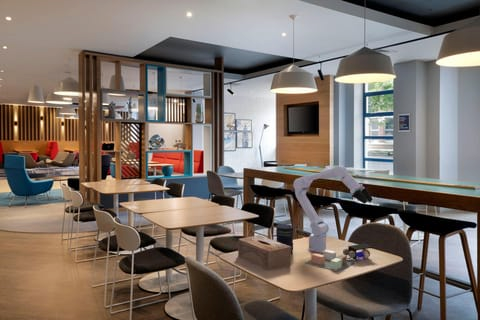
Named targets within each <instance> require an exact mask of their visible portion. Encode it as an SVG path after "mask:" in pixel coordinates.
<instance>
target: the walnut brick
mask: <svg viewBox="0 0 480 320" xmlns="http://www.w3.org/2000/svg"><path fill="white" fill-rule="evenodd" d="M336 258H339V259H342V266H343V265H345V264H346V263H347V260H348V259H347V258H348V255H347V256H346V255H344V254H340V255H336Z"/></svg>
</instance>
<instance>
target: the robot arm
mask: <svg viewBox="0 0 480 320" xmlns="http://www.w3.org/2000/svg"><path fill="white" fill-rule="evenodd" d="M347 170H348V169H347V167H346V166H344V165H334V166H333V165H332V167H325V168H324V169H322V170H321V172H317V173H312V174H307V175H304V176H301V177H299V178H296V179H295V180H294V181H293V185H292V186H293V188H294V194H295V198H296V199H297V201H298V202H299V204H300V206H301V207H302V209H303V210H304V213H305V214H306V216H307V218H308V219H309V222H310V224H309V225H310V226H309V227H310V228H311V229H310V230H311V234H309V237H308V249H307V250H308V251H312V252H314V253H319V254H323V251H324V250H329V248H327V233H328V232H329V229H330V227H329V225H328V224H327V223H326V222H325V221H324V220H323V218H320V216H319V215H318V213H317V212H316V210H315V208H314V206H313V205H312V203H311V201H310V199H309V198H308V197H307V196H308V195H307V191H308V190H309V188H310V186H311V184H312V183H313V181H315V180H318V179H322V178H323V179H324V180H329V179H333V178H338V179H339V180H340V181H341V182H342V183H343V185H345V186H346V187H347V188H348V189H349V190H350V191H349V192H350V194H351V197H352V199H356V200H357V201H359V202H361V203H362V204H364V205H365V204H367V202H369V203H372V201H373V200H374V199H373V197H372V195H371V194H370V192H369V188H368V187H365V186H363V185H364V184H363V183H361V184H360V183H359V182H358V181H357V180H356V179H355V178H354V177H353V176H352V175H351V174H350V173H349V171H347Z"/></svg>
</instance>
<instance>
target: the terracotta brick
mask: <svg viewBox="0 0 480 320" xmlns="http://www.w3.org/2000/svg"><path fill="white" fill-rule="evenodd" d="M310 257H311V258H310V260H311V262H313V263H317V264H321V265H322V264H324V262H325V256H324V255H322V254H321V253H317V252H314V253H312V254H311V256H310Z"/></svg>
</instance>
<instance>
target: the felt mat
mask: <svg viewBox="0 0 480 320" xmlns="http://www.w3.org/2000/svg"><path fill="white" fill-rule="evenodd" d="M321 255H323V253H321ZM351 260H352V259H347V263H346V264H345V265H343V266H342V267H341V268H339V269H337V270H334V269H331V268H330V265H331V260H328V259H325V262H324V264H322V265H321V264H317V263H313V262H311V259H310V260H307V261H305V262H304V264H307V265H311V266H315V267H318V268H322V269H326V270H330V271H332V272H333V271H334V272H337V273H340V272H341V271H344V270H345V269H348V267H350V266H352V265H354V264H355V263H356V260H352V261H351Z"/></svg>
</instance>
